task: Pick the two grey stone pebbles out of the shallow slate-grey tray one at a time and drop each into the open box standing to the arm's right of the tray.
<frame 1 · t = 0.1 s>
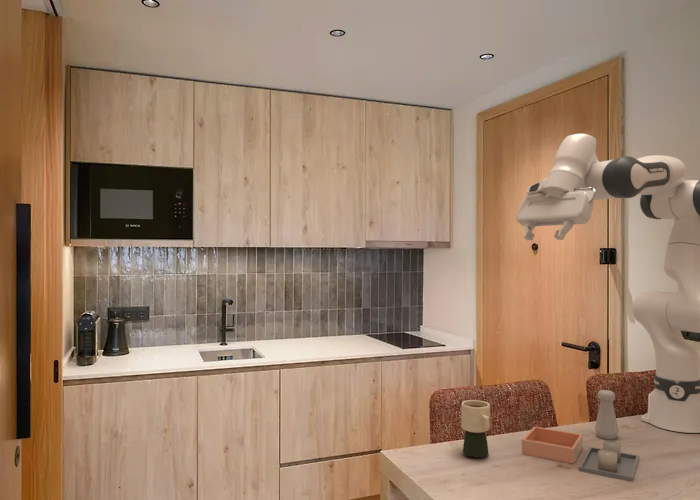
hand: (542, 239, 133), 54 cm above the table, tool tilted 30°, fingers open, 8 cm apart
salt shaker: (606, 439, 149), on the table
open box: (552, 453, 139), on the table
tray: (609, 466, 130), on the table
character mug: (475, 456, 137), on the table
pebble a: (611, 460, 133), resting on tray
pebble b: (607, 469, 127), resting on tray
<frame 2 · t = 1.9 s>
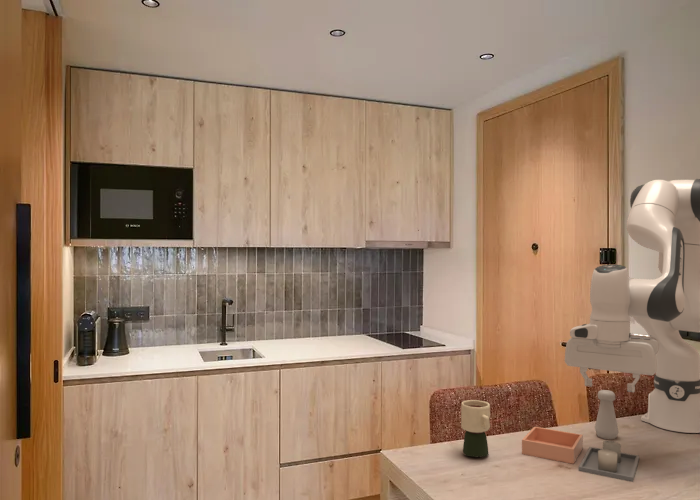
hand: (609, 388, 133), 18 cm above the table, tool pointing down, fingers open, 8 cm apart
nothing on the table moved.
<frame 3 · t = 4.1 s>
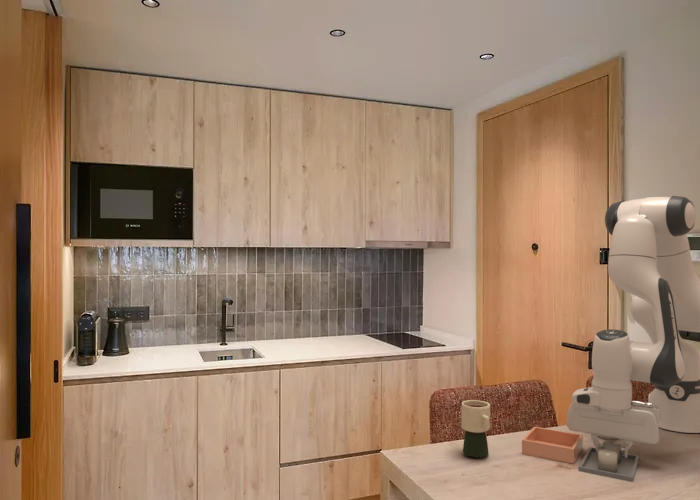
hand: (611, 454, 133), 2 cm above the table, tool pointing down, fingers closed on pebble a, 4 cm apart
pebble a: (611, 460, 133), resting on tray, touching gripper
everything else where it was.
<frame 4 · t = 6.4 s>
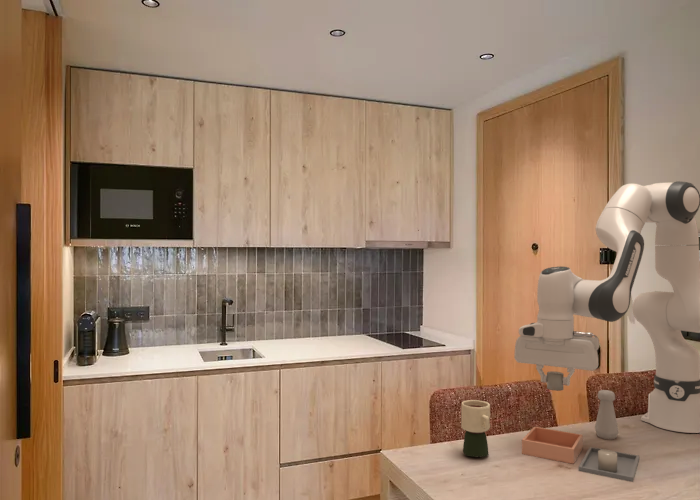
hand: (555, 383, 141), 17 cm above the table, tool pointing down, fingers closed on pebble a, 4 cm apart
pebble a: (555, 388, 141), point 16 cm above the table, touching gripper
everything else where it was.
when the fingers open (5 cm above the table, at t = 8.6 s): pebble a drops 3 cm, resting on open box.
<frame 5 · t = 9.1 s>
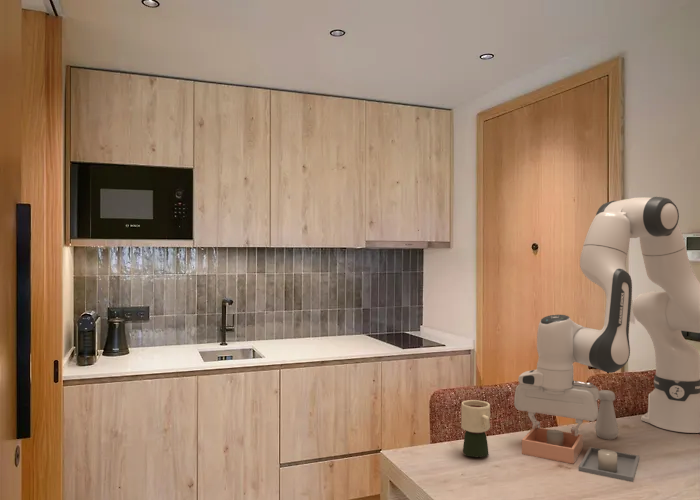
hand: (555, 432, 141), 5 cm above the table, tool pointing down, fingers open, 8 cm apart
pebble a: (555, 447, 141), point 1 cm above the table, touching open box
everything else where it was.
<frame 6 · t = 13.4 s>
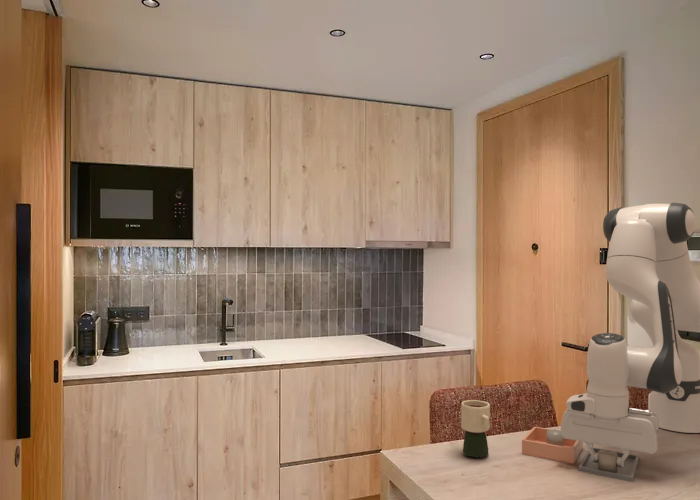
hand: (607, 464, 127), 2 cm above the table, tool pointing down, fingers closed on pebble b, 4 cm apart
pebble b: (607, 469, 127), resting on tray, touching gripper
everything else where it was.
when the fingers open (5 cm above the table, at t = 17.6 s): pebble b drops 3 cm, resting on open box.
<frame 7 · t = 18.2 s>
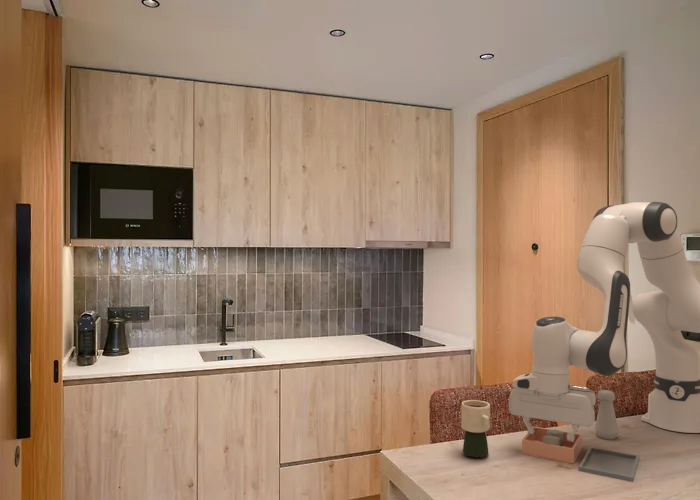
hand: (550, 437, 137), 5 cm above the table, tool pointing down, fingers open, 8 cm apart
pebble b: (551, 453, 136), point 1 cm above the table, touching open box
everything else where it was.
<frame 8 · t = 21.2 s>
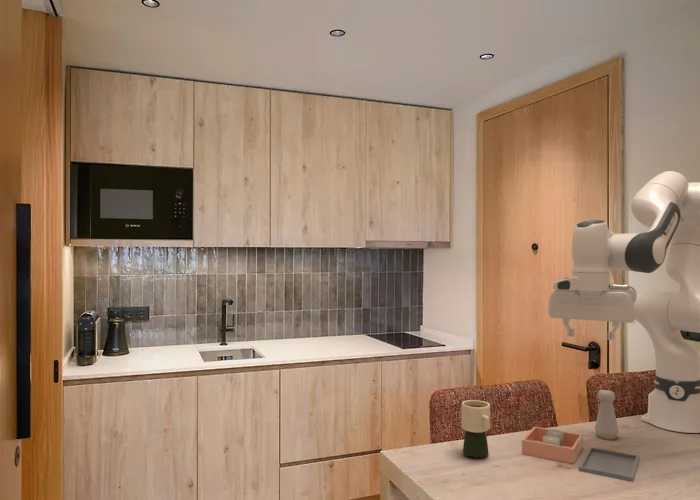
hand: (590, 337, 139), 29 cm above the table, tool pointing down, fingers open, 8 cm apart
nothing on the table moved.
at the end: pebble a inside the target area on the open box (2.4 cm from its centre), point 0.6 cm above the open box's base; pebble b inside the target area on the open box (2.5 cm from its centre), point 0.6 cm above the open box's base; the gripper is holding nothing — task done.
